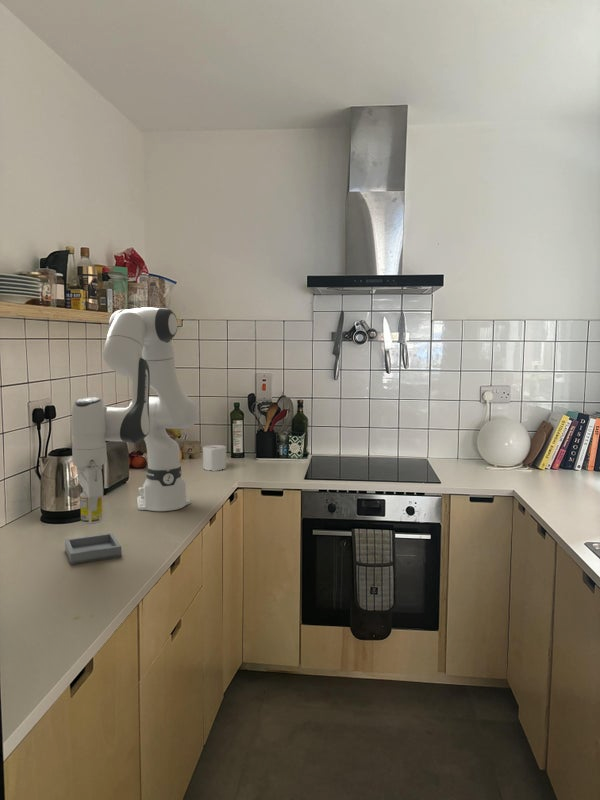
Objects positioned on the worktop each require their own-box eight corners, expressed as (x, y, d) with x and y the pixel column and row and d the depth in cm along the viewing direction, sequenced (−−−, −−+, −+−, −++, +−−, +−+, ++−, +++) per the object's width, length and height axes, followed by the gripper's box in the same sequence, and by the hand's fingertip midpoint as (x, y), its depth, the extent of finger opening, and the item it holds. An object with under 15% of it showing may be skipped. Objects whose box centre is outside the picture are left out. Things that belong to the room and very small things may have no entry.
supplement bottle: (104, 518, 169) (103, 482, 168) (99, 524, 164) (98, 487, 163) (83, 519, 169) (82, 483, 168) (78, 525, 163) (77, 488, 162)
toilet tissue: (219, 465, 285) (219, 444, 284) (231, 469, 276) (231, 447, 275) (199, 467, 279) (198, 446, 278) (210, 472, 270) (210, 450, 269)
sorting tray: (65, 549, 170) (64, 539, 170) (112, 542, 176) (112, 532, 176) (70, 565, 159) (70, 554, 158) (121, 557, 165) (121, 546, 164)
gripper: (108, 463, 157) (109, 515, 158) (95, 450, 175) (97, 497, 176) (82, 465, 154) (84, 518, 155) (72, 452, 172) (74, 499, 173)
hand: (91, 507), depth 166 cm, fingers closed on supplement bottle, 5 cm apart
